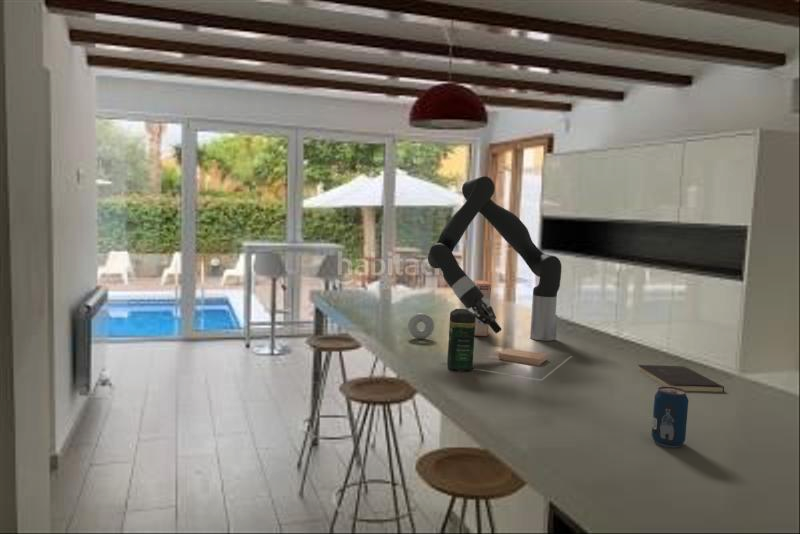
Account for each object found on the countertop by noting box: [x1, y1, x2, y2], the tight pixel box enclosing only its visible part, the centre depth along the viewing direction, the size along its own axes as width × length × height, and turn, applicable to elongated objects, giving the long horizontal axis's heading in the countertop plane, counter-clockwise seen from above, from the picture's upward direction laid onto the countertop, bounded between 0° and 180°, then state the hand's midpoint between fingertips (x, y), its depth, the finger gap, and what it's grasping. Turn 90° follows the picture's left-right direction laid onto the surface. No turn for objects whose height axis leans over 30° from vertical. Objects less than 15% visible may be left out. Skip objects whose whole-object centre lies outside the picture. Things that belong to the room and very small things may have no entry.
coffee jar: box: [446, 308, 476, 372], centre depth 200 cm, size 10×8×19 cm
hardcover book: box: [637, 364, 725, 393], centre depth 197 cm, size 16×23×2 cm
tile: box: [498, 348, 548, 366], centre depth 213 cm, size 2×9×14 cm
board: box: [485, 351, 549, 367], centre depth 214 cm, size 12×18×1 cm, turn 62°
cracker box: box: [471, 279, 492, 337], centre depth 257 cm, size 14×6×21 cm, turn 179°
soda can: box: [651, 386, 689, 448], centre depth 142 cm, size 7×7×12 cm
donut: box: [407, 312, 435, 340], centre depth 242 cm, size 10×4×10 cm, turn 95°
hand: (499, 331), depth 216 cm, fingers closed
